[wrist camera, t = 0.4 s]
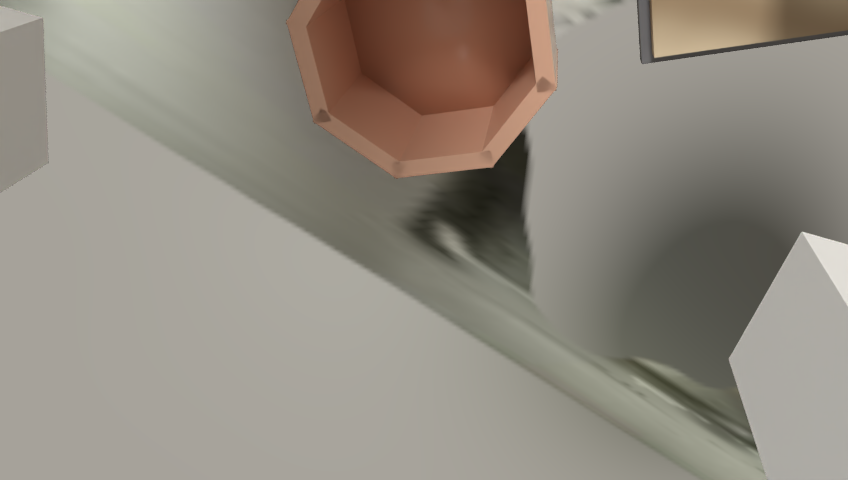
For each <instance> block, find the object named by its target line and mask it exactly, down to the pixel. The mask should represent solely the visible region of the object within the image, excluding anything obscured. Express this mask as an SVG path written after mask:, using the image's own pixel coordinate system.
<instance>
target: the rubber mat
mask: <svg viewBox="0 0 848 480" xmlns="http://www.w3.org/2000/svg"><path fill="white" fill-rule="evenodd" d="M637 8H638V24H639V44H640V59H641V63H642V64H646V63H652V62H659V61H667V60H674V59H681V58H688V57H695V56H702V55H709V54H716V53H723V52H730V51H737V50H744V49H751V48H758V47H766V46H773V45H779V44H787V43H794V42H801V41H807V40H815V39H822V38H829V37H835V36H843V35H848V30H846V31H839V32H832V33H825V34H818V35H811V36H804V37H797V38H790V39H783V40H776V41H769V42H762V43H755V44H748V45H741V46H734V47H727V48H720V49H713V50H706V51H699V52H692V53H685V54H678V55H671V56H664V57H657V58H654V56H653V53H652V41H651V21H650V1H649V0H637Z"/></svg>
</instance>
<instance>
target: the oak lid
mask: <svg viewBox="0 0 848 480" xmlns="http://www.w3.org/2000/svg"><path fill="white" fill-rule="evenodd" d="M649 1H650V21H651V41H652V53H653V56H654V58H657V57H664V56H671V55H678V54H685V53H692V52H699V51H706V50H713V49H720V48H727V47H734V46H741V45H748V44H755V43H762V42H769V41H776V40H783V39H790V38H797V37H804V36H811V35H818V34H825V33H832V32H839V31H846V30H848V0H649Z"/></svg>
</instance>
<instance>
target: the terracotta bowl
mask: <svg viewBox="0 0 848 480" xmlns="http://www.w3.org/2000/svg"><path fill="white" fill-rule="evenodd" d="M286 24H287V25H288V29H289V32H290V36H291V40H292V43H293V47H294V51H295V54H296V58H297V62H298V65H299V69H300V73H301V76H302V80H303V84H304V87H305V91H306V95H307V98H308V102H309V106H310V109H311V113H312V117H313V122H314V124H315V123H316V124H318V125H319V126H320V127H322V128H323V129H325V130H326V131H328V132H329V133H331V134H332V135H334V136H335V137H336V138H338V139H339V140H341V141H342V142H344V143H345V144H347V145H348V146H350V147H351V148H353V149H354V150H355V151H357V152H358V153H360V154H361V155H363V156H364V157H366V158H367V159H369V160H370V161H372V162H373V163H374V164H376V165H377V166H379V167H380V168H382V169H383V170H385V171H386V172H388V173H389V174H390V175H392V176H393V177H394V178H396V179H398V178H402V177H411V176H419V175H428V174H437V173H445V172H454V171H463V170H471V169H480V168H489V167H490V168H492V167H494V164H495V163H496V162H497V161H498V159H499V158H500V157H501V156H502V154H503V153H504V152H505V151H506V149H507V148H508V147H509V146H510V145H511V143H512V142H513V141H514V140H515V138H516V137H517V136H518V135H519V134H520V132H521V131H522V130H523V129H524V127H525V126H526V125H527V124H528V123H529V121H530V120H531V119H532V118H533V116H534V115H535V114H536V113H537V111H538V110H539V109H540V108H541V107H542V105H543V104H544V103H545V101H546V100H547V99H548V98H549V96H550V95H551V94H552V93H553V92H554V91H555V90H556V88H557V67H558V66H557V64H558V49H557V47H556V37H555V28H554V19H553V10H552V1H551V0H299V1H298V3H297V4H296V6H295V8H294V10H293V12H292V13H291V15H290V17H289V19H288V20H286Z"/></svg>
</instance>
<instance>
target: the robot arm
mask: <svg viewBox="0 0 848 480" xmlns="http://www.w3.org/2000/svg"><path fill="white" fill-rule="evenodd" d="M45 84H46V82H45V55H44V29H43V18H42V17H39V16H35V15H32V14H28V13H25V12H21V11H18V10H14V9H11V8H7V7H3V6H0V193H1V192H2V191H4V190H6V189H7V188H9V187H10V186H12V185H13V184H15V183H17V182H18V181H20V180H22V179H23V178H25V177H27V176H28V175H30V174H31V173H33V172H35V171H36V170H38V169H39V168H41V167H43V166H44V165H46V164H47V163H48V162H49V161H48V137H47V108H46V85H45ZM729 362H730V365H731V368H732V371H733V374H734V377H735V380H736V384H737V387H738V390H739V393H740V396H741V399H742V402H743V405H744V408H745V412H746V415H747V418H748V421H749V424H750V427H751V430H752V433H753V436H754V440H755V443H756V446H757V449H758V452H759V455H760V458H761V461H762V464H763V468H764V471H765V474H766V477H767V480H848V245H847V244H844V243H840V242H837V241H833V240H829V239H826V238H823V237H819V236H816V235H812V234H808V233H805V232H801V234H800V235H799V237H798V239H797V241H796V242H795V244H794V246H793V248H792V249H791V251H790V253H789V255H788V256H787V258H786V260H785V262H784V264H783V265H782V267H781V269H780V270H779V272H778V274H777V276H776V278H775V279H774V281H773V283H772V284H771V286H770V288H769V290H768V291H767V293H766V295H765V297H764V298H763V300H762V302H761V304H760V305H759V307H758V309H757V311H756V312H755V314H754V316H753V318H752V319H751V321H750V323H749V325H748V326H747V328H746V330H745V332H744V333H743V335H742V337H741V339H740V340H739V342H738V344H737V346H736V347H735V349H734V351H733V352H732V354H731V356H730V358H729Z"/></svg>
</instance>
